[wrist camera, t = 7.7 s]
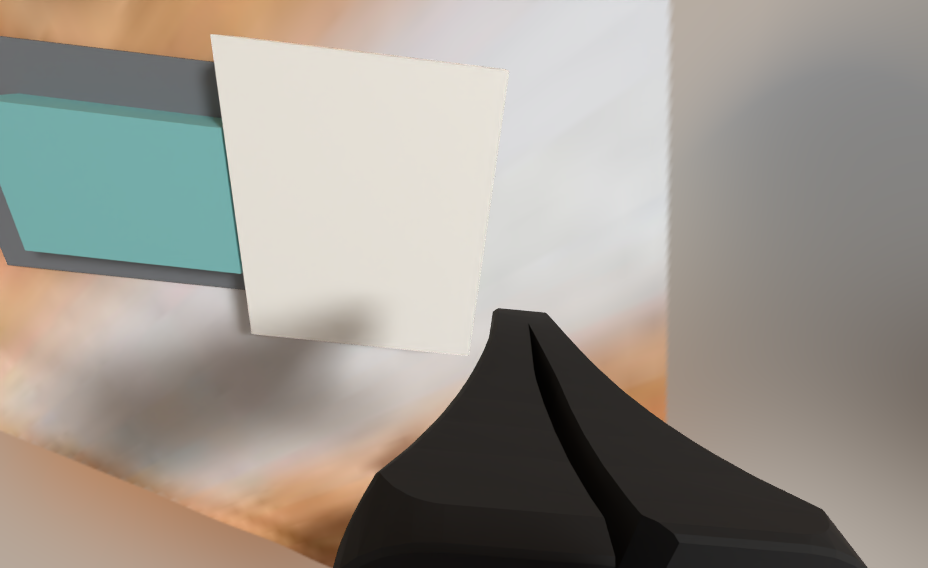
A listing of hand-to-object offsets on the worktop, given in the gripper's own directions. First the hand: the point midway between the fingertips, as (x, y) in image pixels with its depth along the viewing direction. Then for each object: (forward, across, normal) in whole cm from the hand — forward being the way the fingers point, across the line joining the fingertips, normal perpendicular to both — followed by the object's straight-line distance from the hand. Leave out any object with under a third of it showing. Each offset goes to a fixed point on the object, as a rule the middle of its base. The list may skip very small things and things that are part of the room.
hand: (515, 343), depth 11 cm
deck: (+10, +6, 0) cm, 11 cm away
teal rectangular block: (+9, +15, 0) cm, 18 cm away
